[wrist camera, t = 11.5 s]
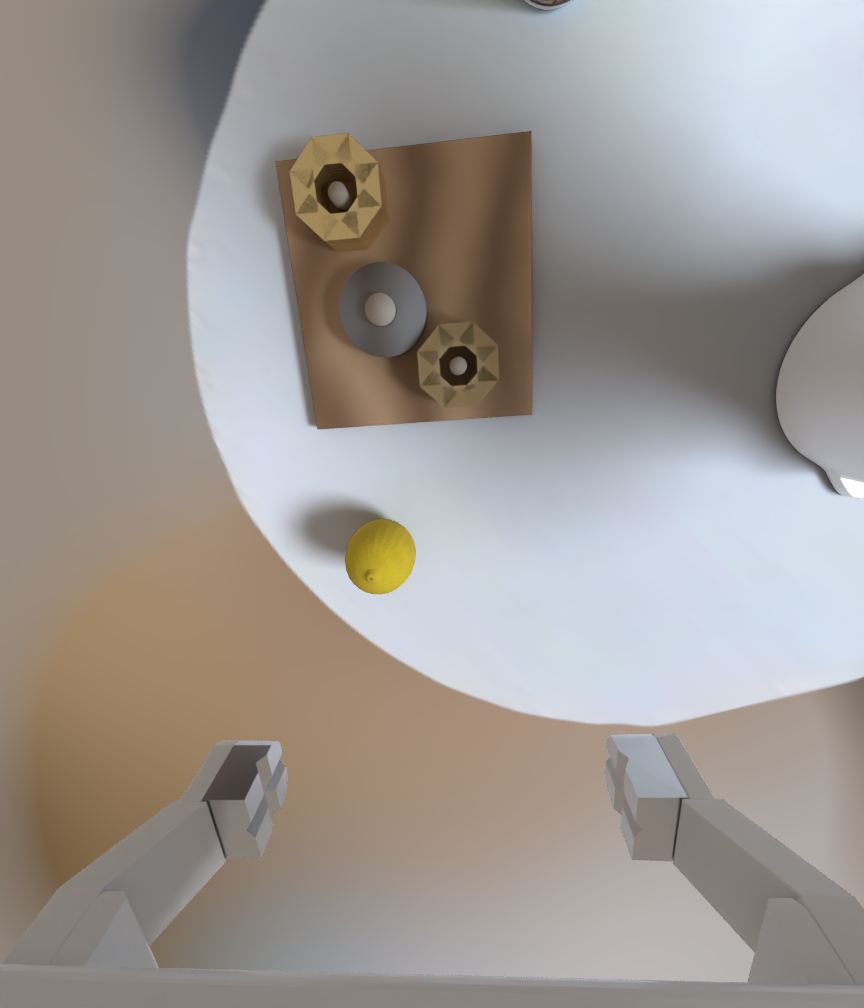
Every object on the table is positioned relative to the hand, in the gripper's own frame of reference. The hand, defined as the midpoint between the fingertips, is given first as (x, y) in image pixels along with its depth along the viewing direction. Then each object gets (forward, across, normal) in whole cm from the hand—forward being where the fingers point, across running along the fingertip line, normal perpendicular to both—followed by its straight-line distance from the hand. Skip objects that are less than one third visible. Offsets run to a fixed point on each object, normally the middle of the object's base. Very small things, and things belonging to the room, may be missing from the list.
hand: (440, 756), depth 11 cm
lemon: (+27, +6, +5) cm, 28 cm away
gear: (+26, +6, -20) cm, 33 cm away
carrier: (+27, +2, -14) cm, 31 cm away
